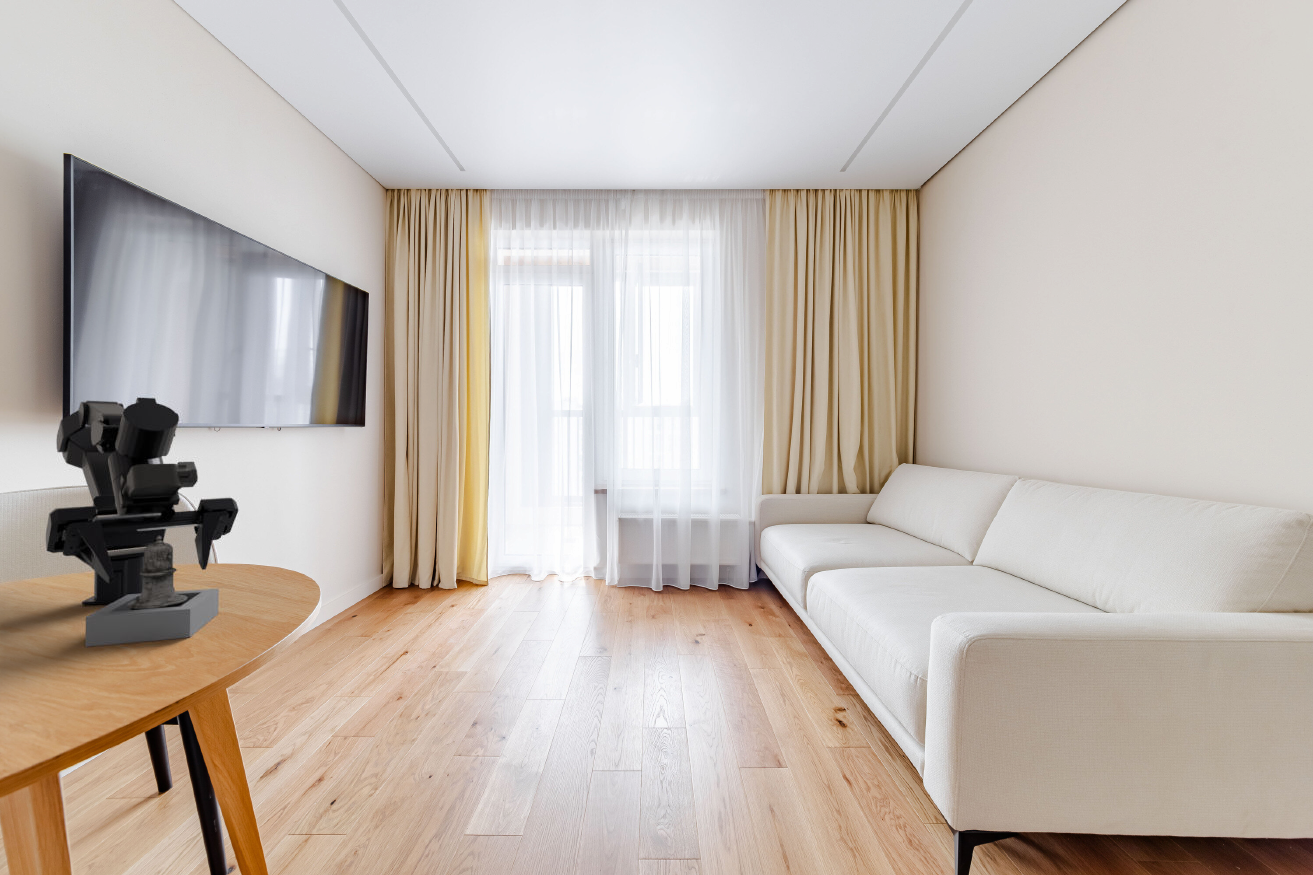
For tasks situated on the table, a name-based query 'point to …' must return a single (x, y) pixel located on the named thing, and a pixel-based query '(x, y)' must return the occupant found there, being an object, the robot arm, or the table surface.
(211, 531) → the robot arm
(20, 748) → the table surface
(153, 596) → the salt shaker
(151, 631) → the socket block
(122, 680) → the table surface
